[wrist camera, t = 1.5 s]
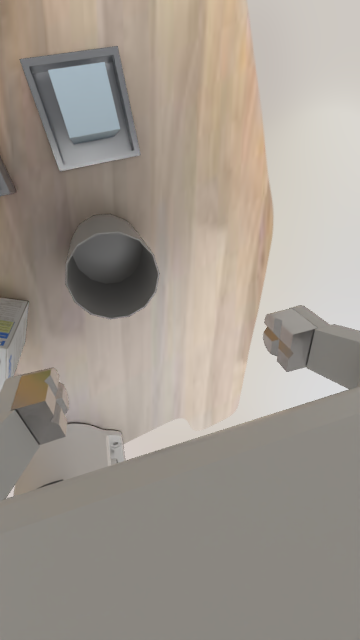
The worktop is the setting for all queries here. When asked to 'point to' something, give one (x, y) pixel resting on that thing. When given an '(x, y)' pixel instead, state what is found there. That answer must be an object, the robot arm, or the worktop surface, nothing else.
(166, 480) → the robot arm
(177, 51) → the worktop surface
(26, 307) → the light bulb box
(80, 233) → the cup
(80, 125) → the block
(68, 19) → the worktop surface
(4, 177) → the dish empty
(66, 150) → the dish block
